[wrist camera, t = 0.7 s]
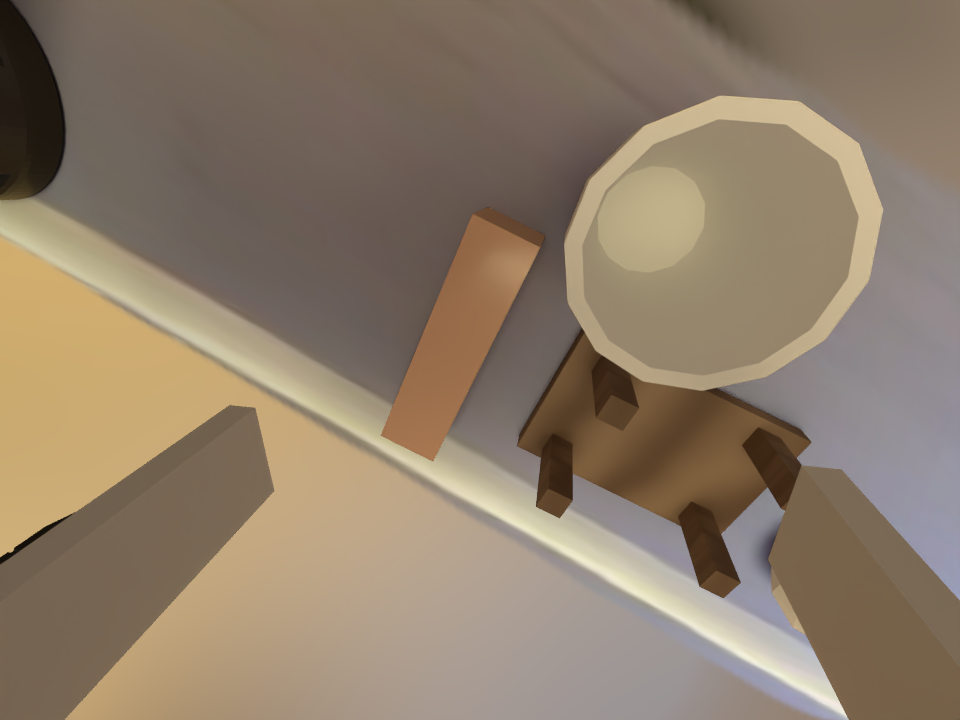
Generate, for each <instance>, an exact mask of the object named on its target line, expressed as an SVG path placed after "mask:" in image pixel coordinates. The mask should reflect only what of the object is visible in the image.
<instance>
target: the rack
mask: <svg viewBox="0 0 960 720" xmlns="http://www.w3.org/2000/svg"><path fill="white" fill-rule="evenodd" d="M810 443H811V441H810V440H809V439H808V437H807V436H806V435H805V434H804V433H803V432H802V431H801V430H800V429H798V428H796V427H794V426H792V425H790V424H788V423H786V422H784V421H782V420H780V419H778V418H776V417H774V416H772V415H770V414H768V413H765V412H763V411H761V410H759V409H757V408H755V407H753V406H751V405H749V404H747V403H745V402H743V401H741V400H739V399H737V398H735V397H733V396H731V395H729V394H727V393H725V392H722V391H720V390H718V389H716V388H713V389H708V390H703V391H700V390H693V389H687V388H681V387H675V386H668V385H662V384H656V383H650V382H644V381H641V380H640V379H638V378H637V377H635V376H634V375H632V374H630V373H629V372H627V371H626V370H624V369H623V368H621V367H620V366H618V365H617V364H615V363H614V362H612V361H610V360H609V359H607V358H606V357H604V356H603V355H601V354H600V353H598V352H597V351H595V349H594V347H593V345H592V344H591V342H590V340H589V339H588V337H587V335H586V334H585V332H584V330H583V328H582V330H581V331H580V333H579V335H578V336H577V338H576V340H575V341H574V343H573V345H572V347H571V348H570V350H569V352H568V353H567V355H566V357H565V358H564V360H563V362H562V363H561V365H560V367H559V369H558V370H557V372H556V374H555V375H554V377H553V379H552V380H551V382H550V384H549V386H548V387H547V389H546V391H545V392H544V394H543V396H542V397H541V399H540V401H539V403H538V404H537V406H536V408H535V409H534V411H533V413H532V414H531V416H530V418H529V419H528V421H527V423H526V425H525V426H524V428H523V430H522V431H521V433H520V435H519V439H518V444H517V446H518V447H520V448H522V449H524V450H526V451H528V452H530V453H532V454H534V455H536V456H539V457H541V464H540V473H539V483H538V492H537V501H536V507H537V508H540V509H542V510H544V511H546V512H548V513H550V514H552V515H554V516H556V517H558V518H560V517H561V516H562V514H563V513H564V512H565V510H566V509H567V508H568V506H569V505H570V503H571V502H572V501H573V474H575V475H577V476H580V477H582V478H584V479H586V480H588V481H590V482H592V483H594V484H596V485H598V486H600V487H602V488H604V489H606V490H608V491H610V492H612V493H614V494H616V495H618V496H620V497H623V498H625V499H627V500H629V501H631V502H633V503H635V504H637V505H639V506H641V507H643V508H645V509H647V510H649V511H651V512H653V513H655V514H657V515H659V516H661V517H663V518H666V519H668V520H670V521H672V522H674V523H676V524H678V525H680V526H681V527H682V531H683V534H684V537H685V540H686V544H687V547H688V550H689V553H690V557H691V560H692V563H693V567H694V570H695V573H696V576H697V580H698V583H699V586H700V587H701V588H703V589H705V590H708V591H710V592H712V593H714V594H716V595H718V596H720V597H722V598H724V597H725V596H727V595H728V594H729V593H730V592H731V591H732V590H733V589H734V588H735V587H736V586H738V585H739V584H740V583H741V582H740V580H739V577H738V575H737V572H736V570H735V567H734V565H733V562H732V560H731V558H730V555H729V553H728V550H727V548H726V545H725V543H724V540H723V538H722V536H721V534H722V533H723V532H724V531H725V530H726V528H727V527H728V526H729V525H730V524H731V523H732V522H733V521H734V520H735V519H736V518H737V517H738V516H739V515H740V514H741V513H742V512H743V511H744V510H745V509H746V508H747V507H748V506H749V505H750V504H751V503H752V502H753V501H754V500H755V499H756V498H757V497H758V496H759V495H760V494H761V493H762V492H763V491H764V490H765V489H766V488H767V487H768V488H769V490H770V492H771V493H772V495H773V496H774V498H775V500H776V501H777V503H778V504H779V506H780V508H781V509H783V510H786V508H787V505H788V502H789V499H790V496H791V494H792V491H793V488H794V485H795V482H796V480H797V477H798V474H799V471H800V468H801V466H802V465H801V464H800V462H799V461H798V460H797V457H798V456H799V455H800V454H801V453H802V452H803V451H804V450H805V449H806V448H807V447H808V446H809V444H810Z"/></svg>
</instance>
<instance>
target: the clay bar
mask: <svg viewBox="0 0 960 720" xmlns="http://www.w3.org/2000/svg"><path fill="white" fill-rule="evenodd" d="M544 238H545V235H543V234H541V233H539V232H537V231H535V230H533V229H531V228H529V227H527V226H525V225H523V224H521V223H519V222H517V221H515V220H513V219H511V218H509V217H507V216H505V215H503V214H501V213H499V212H497V211H495V210H493V209H491V208H489V207H487V208H485V209H483V210H481V211H478V212H476V213H474V214H472V217H471V219H470V222H469V224H468V226H467V229H466V231H465V234H464V236H463V238H462V241H461V243H460V246H459V248H458V251H457V253H456V255H455V258H454V260H453V263H452V265H451V267H450V270H449V272H448V275H447V277H446V279H445V282H444V284H443V287H442V289H441V292H440V294H439V296H438V299H437V301H436V304H435V306H434V308H433V311H432V313H431V316H430V318H429V320H428V323H427V325H426V328H425V330H424V333H423V335H422V337H421V340H420V342H419V345H418V347H417V349H416V352H415V354H414V357H413V359H412V361H411V364H410V366H409V369H408V371H407V374H406V376H405V378H404V381H403V383H402V386H401V388H400V390H399V393H398V395H397V398H396V400H395V402H394V405H393V407H392V410H391V412H390V414H389V417H388V419H387V422H386V424H385V427H384V429H383V431H382V434H381V436H383V437H385V438H387V439H389V440H391V441H393V442H395V443H397V444H399V445H401V446H403V447H405V448H407V449H409V450H411V451H413V452H415V453H417V454H419V455H421V456H423V457H425V458H427V459H429V460H431V461H433V460H434V458H435V456H436V454H437V452H438V450H439V448H440V446H441V444H442V442H443V441H444V439H445V437H446V435H447V433H448V431H449V429H450V427H451V425H452V423H453V421H454V419H455V417H456V415H457V413H458V411H459V409H460V407H461V405H462V403H463V401H464V399H465V397H466V395H467V393H468V391H469V389H470V387H471V385H472V383H473V381H474V379H475V377H476V375H477V373H478V371H479V369H480V367H481V365H482V363H483V361H484V359H485V357H486V355H487V353H488V351H489V349H490V347H491V345H492V343H493V341H494V339H495V337H496V335H497V333H498V331H499V329H500V327H501V325H502V323H503V321H504V319H505V317H506V315H507V313H508V311H509V309H510V307H511V305H512V303H513V301H514V299H515V297H516V295H517V293H518V291H519V289H520V287H521V285H522V283H523V281H524V279H525V277H526V275H527V273H528V271H529V269H530V267H531V265H532V263H533V261H534V259H535V257H536V255H537V253H538V251H539V249H540V247H541V245H542V242H543V240H544Z"/></svg>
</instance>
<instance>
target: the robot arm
mask: <svg viewBox="0 0 960 720" xmlns="http://www.w3.org/2000/svg"><path fill="white" fill-rule="evenodd" d="M62 142H63V126H62V115H61V109H60V104H59V99H58V95H57V91H56V88H55V84H54V81H53V78H52V75H51V73H50V70H49V67H48V65H47V63H46V60H45V58H44V56H43V54H42V52H41V50H40V48H39V46H38V44H37V42H36V40H35V38H34V37H33V35H32V33H31V32H30V30H29V28H28V27H27V25H26V24H25V22H24V21H23V19H22V18H21V16H20V15H19V13H18V12H17V11H16V9H15V8H14V7H13V6H12V4H11V3H10V2H9V1H8V0H0V200H15V199H23V198H27V197H30V196H32V195H34V194H36V193H38V192H39V191H41V190H42V189H43V188H44V187H45V186H46V185H47V184H48V183H49V181H50V180H51V179H52V177H53V175H54V173H55V171H56V169H57V167H58V164H59V160H60V156H61V151H62ZM273 492H274V488H273V483H272V479H271V475H270V470H269V466H268V462H267V457H266V453H265V449H264V444H263V440H262V435H261V431H260V427H259V422H258V418H257V414H256V409H255V408H250V407H241V406H231V405H230V406H228V407H226V408H225V409H223V410H222V411H221V412H219V413H218V414H216V415H215V416H214V417H212V418H211V419H209V420H208V421H206V422H205V423H203V424H202V425H200V426H199V427H198V428H196V429H195V430H193V431H192V432H190V433H189V434H188V435H186V436H185V437H183V438H182V439H181V440H179V441H177V442H176V443H175V444H173V445H172V446H170V447H169V448H167V449H166V450H165V451H163V452H162V453H160V454H159V455H157V456H156V457H155V458H153V459H152V460H150V461H149V462H147V463H146V464H144V465H143V466H142V467H140V468H139V469H137V470H136V471H134V472H133V473H132V474H130V475H129V476H127V477H126V478H124V479H123V480H121V481H120V482H119V483H117V484H116V485H114V486H113V487H111V488H110V489H109V490H107V491H106V492H104V493H103V494H101V495H100V496H98V497H97V498H96V499H94V500H93V501H91V502H90V503H89V504H87V505H85V506H84V507H83V508H81V509H80V510H78V511H77V512H75V513H73V514H70V515H69V516H67V517H64V518H63V519H60V520H58V521H56V522H54V523H52V524H50V525H48V526H46V527H44V528H43V529H41V530H40V531H38V532H37V533H35V534H34V535H33V536H31V537H29V538H28V539H27V540H25V541H24V542H22V543H21V544H19V545H18V546H16V547H15V548H14V551H13V552H11V553H9V552H7V553H6V554H5V555H3V556H2V557H0V720H65V718H66V717H67V716H68V715H69V714H70V713H71V712H72V711H73V710H74V709H75V708H76V706H77V705H78V704H79V703H80V702H81V701H82V700H83V699H84V698H85V697H86V696H87V694H88V693H89V692H90V691H91V690H92V689H93V688H94V687H95V686H96V685H97V683H98V682H99V681H100V680H101V679H102V678H103V677H104V676H105V675H106V674H107V673H108V671H109V670H110V669H111V668H112V667H113V666H114V665H115V664H116V663H117V662H118V661H119V660H120V658H121V657H122V656H123V655H124V654H125V653H126V652H127V650H129V649H130V647H131V646H132V645H133V644H134V643H135V642H136V641H137V640H138V639H139V638H140V637H141V636H142V634H143V633H144V632H145V631H146V630H147V629H148V628H149V627H150V626H151V625H152V624H153V622H154V621H155V620H156V619H157V618H158V617H159V616H160V615H161V614H162V613H163V612H164V610H165V609H166V608H167V607H168V606H169V605H170V604H171V603H172V602H173V601H174V599H176V597H177V596H178V595H179V594H180V593H181V592H182V591H183V590H184V589H185V588H186V586H187V585H188V584H189V583H190V582H191V581H192V580H193V579H194V578H195V577H196V575H198V573H199V572H200V571H201V570H202V569H203V568H204V567H205V566H206V565H207V563H209V561H210V560H211V559H212V558H213V557H214V556H215V555H216V554H217V553H218V551H220V549H221V548H222V547H223V546H224V545H225V544H226V543H227V542H228V541H229V539H231V537H232V536H233V535H234V534H235V533H236V532H237V531H238V530H239V529H240V528H241V527H242V525H243V524H244V523H245V522H246V521H247V520H248V519H249V518H250V517H251V516H252V515H253V513H254V512H255V511H256V510H257V509H258V508H259V507H260V506H261V505H262V504H263V503H264V501H265V500H266V499H267V498H268V497H269V496H270V495H271V494H272V493H273ZM768 561H769V563H770V565H771V567H772V569H773V571H774V573H775V575H776V577H777V579H778V581H779V583H780V585H781V586H782V588H783V590H784V592H785V594H786V596H787V598H788V600H789V602H790V604H791V606H792V608H793V610H794V612H795V614H796V616H797V618H798V620H799V622H800V624H801V626H802V628H803V630H804V632H805V634H806V636H807V638H808V640H809V642H810V644H811V646H812V648H813V650H814V652H815V654H816V656H817V658H818V660H819V662H820V663H821V665H822V667H823V669H824V671H825V673H826V675H827V677H828V679H829V681H830V683H831V685H832V687H833V689H834V691H835V693H836V695H837V697H838V699H839V701H840V703H841V705H842V707H843V709H844V711H845V713H846V715H847V717H848V719H849V720H960V600H959V599H958V598H957V597H956V596H955V595H954V594H953V593H952V592H951V590H950V589H949V588H948V587H947V586H946V585H945V584H944V583H943V582H942V581H941V579H940V578H939V577H938V576H937V575H936V574H935V573H934V572H933V571H932V569H931V568H930V567H929V566H928V565H927V564H926V563H925V562H924V561H923V559H922V558H921V557H920V556H919V555H918V554H917V553H916V552H915V551H914V549H913V548H912V547H911V546H910V545H909V544H908V543H907V542H906V541H905V540H904V538H903V537H902V536H901V535H900V534H899V533H898V532H897V531H896V530H895V528H894V527H893V526H892V525H891V524H890V523H889V522H888V521H887V520H886V518H885V517H884V516H883V515H882V514H881V513H880V512H879V511H878V510H877V508H876V507H875V506H874V505H873V504H872V503H871V502H870V501H869V500H868V499H867V497H866V496H865V495H864V494H863V493H862V492H861V491H860V490H859V489H858V487H857V486H856V485H855V484H854V483H853V482H852V481H851V480H850V479H849V477H848V476H847V475H846V474H845V473H844V472H843V471H842V470H840V469H831V468H821V467H812V466H801V468H800V471H799V474H798V477H797V480H796V482H795V485H794V488H793V491H792V494H791V496H790V499H789V502H788V505H787V508H786V510H785V513H784V516H783V519H782V521H781V524H780V527H779V530H778V533H777V535H776V538H775V541H774V544H773V547H772V549H771V552H770V555H769V558H768Z"/></svg>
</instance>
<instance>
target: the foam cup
mask: <svg viewBox="0 0 960 720" xmlns="http://www.w3.org/2000/svg"><path fill="white" fill-rule="evenodd" d="M882 213H883V208H882V205H881V203H880V200H879V197H878V195H877V192H876V189H875V186H874V184H873V181H872V178H871V175H870V173H869V170H868V167H867V164H866V162H865V159H864V156H863V153H862V151H861V148H860V145H859V143H857V142H856V141H854V140H853V139H852V138H850V137H849V136H847V135H846V134H845V133H843V132H842V131H840V130H839V129H838V128H836V127H835V126H833V125H832V124H830V123H829V122H828V121H826V120H825V119H823V118H822V117H821V116H819V115H818V114H816V113H815V112H814V111H812V110H811V109H809V108H808V107H806V106H805V105H804V104H802V103H801V102H799V101H788V100H774V99H760V98H747V97H733V96H718V97H715V98H713V99H710V100H708V101H705V102H703V103H700V104H698V105H695V106H693V107H690V108H688V109H685V110H683V111H680V112H678V113H675V114H673V115H670V116H668V117H665V118H663V119H660V120H658V121H655V122H653V123H650V124H647V125H645V126H643V127H641V128H640V129H638V130H637V131H635V132H634V133H633V134H632V135H631V136H630V137H629V138H628V139H627V140H626V141H625V142H624V143H623V144H622V145H621V146H620V147H619V148H618V149H617V150H616V151H615V152H614V153H613V154H612V155H611V156H610V157H609V158H608V159H607V160H606V161H605V162H604V163H603V164H602V165H601V166H600V167H599V168H598V169H597V170H596V171H595V172H594V173H593V174H592V175H591V176H590V177H589V178H588V179H587V181H586V184H585V186H584V189H583V191H582V194H581V196H580V199H579V201H578V204H577V206H576V209H575V211H574V214H573V216H572V219H571V221H570V224H569V226H568V229H567V231H566V234H565V241H564V249H565V266H566V283H567V300H568V305H569V306H570V308H571V310H572V311H573V313H574V315H575V316H576V318H577V320H578V322H579V323H580V325H581V327H582V328H583V330H584V332H585V334H586V335H587V337H588V339H589V340H590V342H591V344H592V345H593V347H594V349H595V351H597V352H598V353H600V354H601V355H603V356H604V357H606V358H607V359H609V360H610V361H612V362H614V363H615V364H617V365H618V366H620V367H621V368H623V369H624V370H626V371H627V372H629V373H630V374H632V375H634V376H635V377H637V378H638V379H640V380H641V381H644V382H650V383H656V384H662V385H668V386H675V387H681V388H687V389H693V390H700V391H703V390H708V389H713V388H717V387H722V386H726V385H731V384H736V383H740V382H745V381H750V380H754V379H759V378H764V377H767V376H768V375H770V374H771V373H773V372H775V371H776V370H778V369H779V368H781V367H783V366H784V365H786V364H787V363H789V362H790V361H792V360H794V359H795V358H797V357H798V356H800V355H802V354H803V353H805V352H806V351H808V350H809V349H811V348H813V347H814V346H816V345H817V344H819V343H821V342H822V341H824V340H825V339H826V338H827V337H828V335H829V334H830V333H831V331H832V330H833V329H834V327H835V326H836V325H837V323H838V322H839V321H840V319H841V318H842V316H843V315H844V314H845V312H846V311H847V310H848V308H849V307H850V306H851V304H852V303H853V302H854V300H855V299H856V298H857V296H858V295H859V293H860V292H861V291H862V289H863V288H864V287H865V285H866V284H867V283H868V281H869V278H870V273H871V268H872V263H873V258H874V253H875V248H876V243H877V238H878V233H879V228H880V223H881V218H882Z"/></svg>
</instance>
